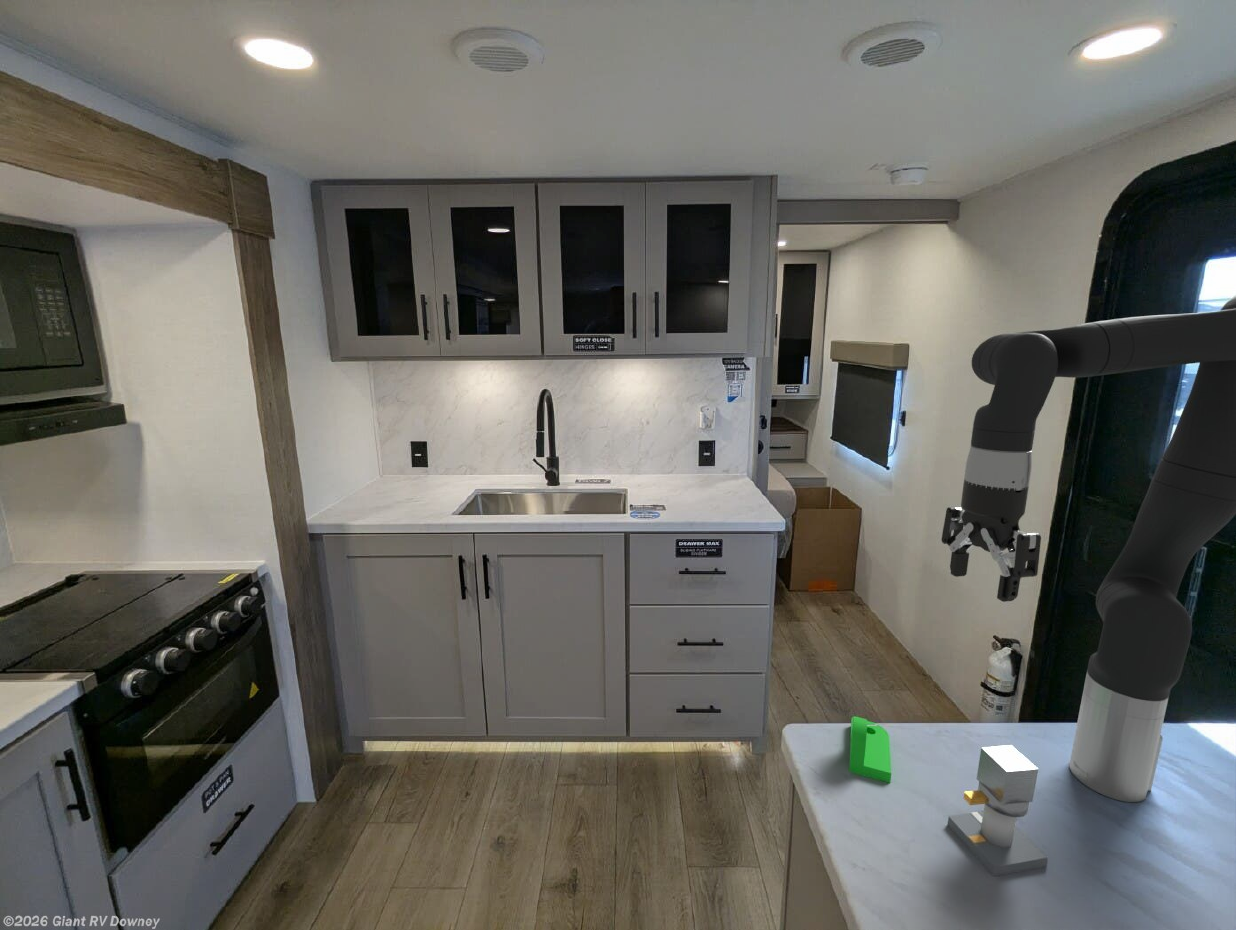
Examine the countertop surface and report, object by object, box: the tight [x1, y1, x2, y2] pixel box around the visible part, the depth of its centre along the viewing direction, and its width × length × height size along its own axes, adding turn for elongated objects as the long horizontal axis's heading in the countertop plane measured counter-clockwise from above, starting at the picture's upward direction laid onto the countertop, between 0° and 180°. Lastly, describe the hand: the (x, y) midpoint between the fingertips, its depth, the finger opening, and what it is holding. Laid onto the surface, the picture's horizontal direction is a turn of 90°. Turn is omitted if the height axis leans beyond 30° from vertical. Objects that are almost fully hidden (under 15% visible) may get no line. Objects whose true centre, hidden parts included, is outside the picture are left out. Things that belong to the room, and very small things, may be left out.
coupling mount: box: [947, 804, 1049, 877], centre depth 75 cm, size 8×8×7 cm
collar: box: [963, 744, 1039, 818], centre depth 73 cm, size 6×8×7 cm
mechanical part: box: [848, 715, 892, 784], centre depth 92 cm, size 12×6×8 cm, turn 156°
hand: (980, 587), depth 80 cm, fingers open, 8 cm apart
